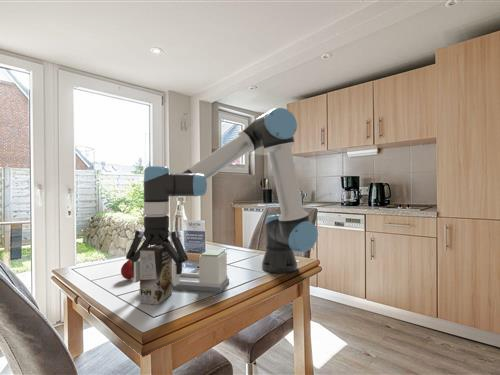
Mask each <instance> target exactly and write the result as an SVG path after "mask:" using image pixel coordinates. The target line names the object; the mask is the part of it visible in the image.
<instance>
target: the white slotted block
mask: <svg viewBox="0 0 500 375" xmlns="http://www.w3.org/2000/svg"><path fill="white" fill-rule="evenodd" d="M174 249H175V247H174ZM175 250H176V249H175ZM227 255H228V252H227V250H225V249H207V250H206V251H204V252H202V253H201V254H200V255H199V256H198V272H183V271H182V273H181V274H180V283H179V284H178V285H176V286H173V264H175V262H174V260H173V259H172V290H174V289H176V290H187V291H197V292H198V291H199V292H212V293H213V292H214V293H222V291H223V290H224V289H225V288H226V287H227V286H228V284H229V283H230V278H229V277H228V268H227V267H228V266H227V265H228V264H227V263H228V262H227V261H228V260H227V259H228V258H227V257H228V256H227Z"/></svg>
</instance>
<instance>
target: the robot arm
mask: <svg viewBox="0 0 500 375" xmlns="http://www.w3.org/2000/svg"><path fill="white" fill-rule="evenodd" d="M297 129H298V122H297V119H296V117H295V115H294V114H293V113H292V112H291V111H289V109H287V108H284V107H276V108H273V109H269V110H268V111H267V112H265V113H263V114H262V115H260V116H257V118H255V119H254V120H253V121H252V122H251V123H250V124H248V125H247V126H246V127H245V128H243V129H241V131H239V132H238V135H237V136H236V137H234V138H233V139H232V140H230V141H228V142H227V143H225V144H224V145H222V146H220V147H218V149H216V150H214V151H213V152H212V153H210V154H208V155H207V156H206V157H204V158H202V159H200V161H197V162H196V163H195V164H193V165H191V166H190V167H189V168H188V169H186V170H184V171H182V172H181V173H174V172H171V171H170V169H169V166H161V165H160V166H159V165H152V166H151V165H150V166H146V167H145V168H144V171H143V172H144V173H143V215H144V217H143V227H144V230H143V229H138V230H135V232H134V238H133V240H132V242H131V245H130V247H129V248H128V252H127V254H126V257H125V259H126V260H129V259H130V260H131V261H132V271H134V277H133V283H134V284H137V283H140V260H138V259H140V250H143V249H146V248H148V247H150V246H154V245H157V246H160V245H162V247H164V248H165V249H166V251H167V252H168V253H169V255H170V256H171V257H172V259H173V260H174V262H175V264H173V286H176V285H178V284H179V283H180V274H181V273H182V272H183V263H186V262H187V261H188V260H189V258H188V255H187V253H186V250H185V249H184V246H183V243H182V242H181V240H180V238H179V237H180V236H179V231H178V230H175V231H170V230H169V227H170V216H169V214H170V202H169V201H170V197H195V198H196V197H203V196H205V195H206V193H207V189H208V187H207V186H208V180H209V179H211V178H212V177H214V176H215V175H216V174H218V173H220V172H221V171H222V170H224V169H226V168H227V167H228V166H230V165H231V164H232V163H235V161H237V160H238V159H240V158H241V157H243V156H244V155H246V154H247V153H253V152H254V151H256V150H257V149H259V148H262V147H263V150H264V151H266V152H267V153H268V155H269V161H270V165H271V170H272V173H273V179H274V184H275V190H276V194H277V198H278V204H279V209H280V214H273V215H267V216H266V218H265V223H264V224H265V253H264V256H263V259H262V261H261V269H262V270H263V271H265V272H268V273H274V274H275V273H276V274H285V273H286V274H288V273H293V272H295V271H297V270H298V262H297V259H296V256H295V253H294V252H298V253H305V252H309V251H310V250H311V249H312V248H313V247H314V246H315V244H316V243H317V241H318V236H319V232H318V228H317V226H316V225H315V224H314V223H313V222H311V221H310V220H311V219H310V216H309V213H308V212H307V211H306V210H304V206H303V201H302V195H301V191H300V186H299V180H298V175H297V170H296V165H295V161H294V155H293V150H292V147H293V146H294V144H295V138H294V135H295V134H296V131H297ZM143 237H144V238H145V239H144V241H143V242H142V240H143ZM169 238H170V239H171V240H170V239H169ZM171 241H172V242H171ZM141 242H142V244H141ZM140 244H141V245H140ZM172 244H173V245H172ZM139 245H140V247H139ZM174 248H175V249H176V250H175V249H174ZM137 250H138V251H137ZM136 251H137V252H136Z"/></svg>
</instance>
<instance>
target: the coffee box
mask: <svg viewBox="0 0 500 375" xmlns="http://www.w3.org/2000/svg"><path fill="white" fill-rule="evenodd" d="M172 294H173V289H172V257H171V256H170V255H169V253H168V252H167V251H166V249H165V248H164V247H162V245H160V246H157V245H150V246H148V248H146V249H143V250H140V281H139V303H140V304H144V305H145V304H149V305H154V306H155V305H156V306H157V305H159V304H160V303H162V302H164V301H165V300H166V299H168V298H169V297H170V296H171V295H172Z"/></svg>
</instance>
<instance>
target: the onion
mask: <svg viewBox="0 0 500 375" xmlns="http://www.w3.org/2000/svg"><path fill="white" fill-rule="evenodd" d="M120 274H121V276H122V278H124V279H126V280H128V281H131V280H132V279H134V271H132V261H131V260H130V259H127V261H126V262H124V263H123V265H121V268H120Z"/></svg>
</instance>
